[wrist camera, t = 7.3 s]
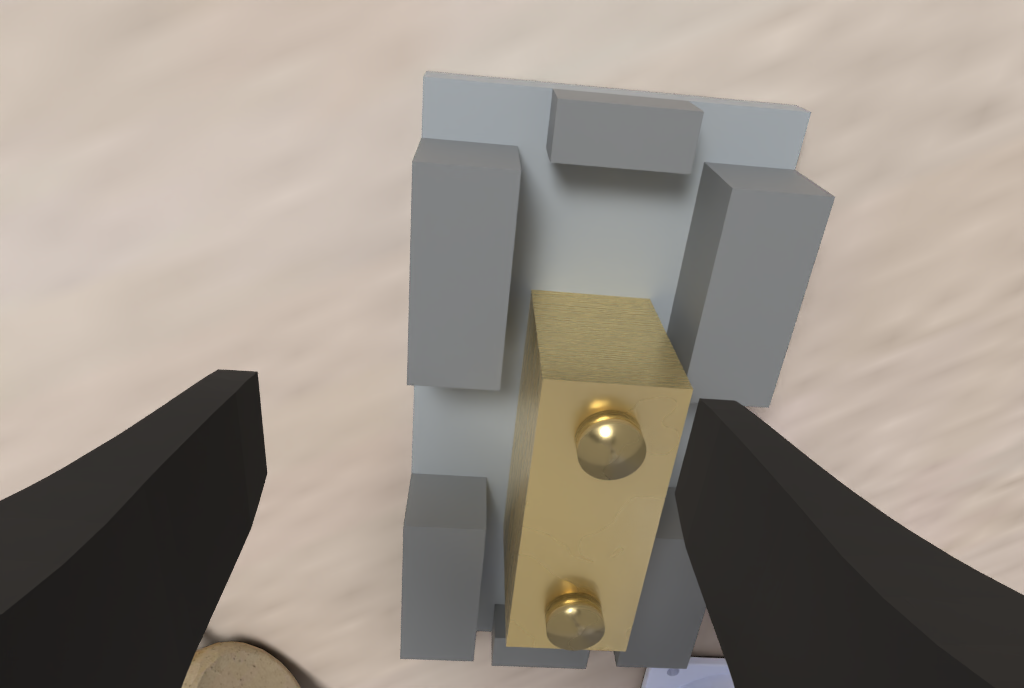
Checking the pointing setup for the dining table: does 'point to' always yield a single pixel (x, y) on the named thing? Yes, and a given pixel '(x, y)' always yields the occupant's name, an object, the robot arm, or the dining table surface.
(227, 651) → the ceramic mug
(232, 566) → the robot arm
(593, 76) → the dining table surface
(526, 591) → the link
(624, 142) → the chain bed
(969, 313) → the dining table surface
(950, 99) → the dining table surface
